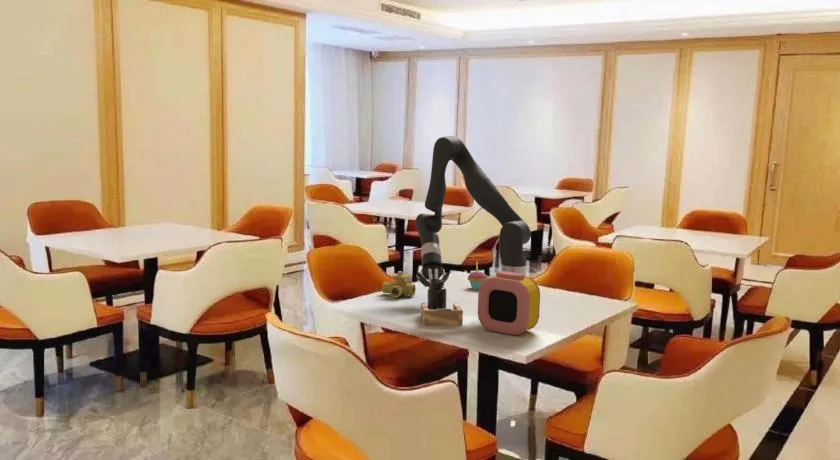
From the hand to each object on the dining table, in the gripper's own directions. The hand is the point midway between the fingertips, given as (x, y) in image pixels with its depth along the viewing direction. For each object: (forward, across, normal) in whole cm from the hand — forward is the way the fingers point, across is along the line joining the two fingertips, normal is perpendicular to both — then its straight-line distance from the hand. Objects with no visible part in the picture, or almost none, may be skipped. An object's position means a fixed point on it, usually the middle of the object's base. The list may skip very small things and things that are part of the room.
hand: (434, 295), depth 271 cm
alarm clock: (+25, +21, -18) cm, 38 cm away
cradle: (+16, 0, -9) cm, 18 cm away
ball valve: (-11, -12, +19) cm, 25 cm away
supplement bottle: (+8, 0, -1) cm, 8 cm away
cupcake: (-22, +24, +30) cm, 44 cm away
